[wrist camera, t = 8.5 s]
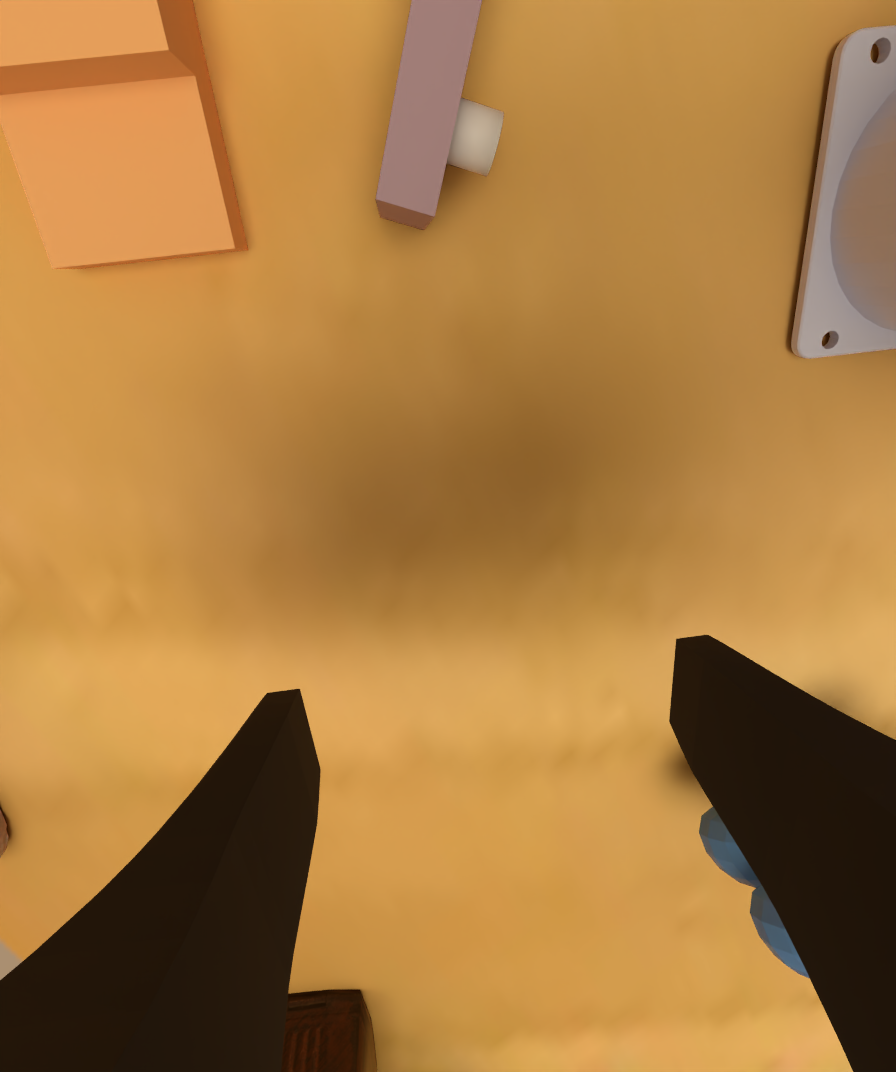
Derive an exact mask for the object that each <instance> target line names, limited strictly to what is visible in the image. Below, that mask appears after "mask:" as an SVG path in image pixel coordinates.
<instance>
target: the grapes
mask: <svg viewBox="0 0 896 1072" xmlns="http://www.w3.org/2000/svg"><path fill="white" fill-rule="evenodd" d="M699 834H700V836H701V839H702V842H703V844H704V847H705V849H706V852H707V853H708V855H709V856H710V857H711V858H712V859H713V861H714V862H715V863H716V864H717V866H718V867H719V868H720V869H721V870H723V871H724V872H725V873H727V874H728V875H730V876H731V877H732V878H734V879H735V880H737V881H738V882H740V883H743V884H746V885H749V886H752V887H755V888H756V889H755V890H754V891H753V892H752V899H751V908H750V914H751V916H752V919H753V921H754V924H755V927H756V929H757V932H758V934H759V936H760V938H761V939H762V940H763V941H764V943H765V944H766V945H767V946H768V948H769V949H770V950H771V951H772V953H773V954H774V955H775V956H776V957H777V958H778V959H780V960H781V961H782V962H783V963H784V964H786V965H787V966H788V967H790V968H791V969H793V970H794V971H795V972H797V973H798V974H800V975H803V976H805V977H808V978H810V977H809V975H808V973H807V971H806V969H805V967H804V965H803V963H802V961H801V959H800V957H799V955H798V953H797V951H796V949H795V947H794V945H793V943H792V941H791V939H790V937H789V935H788V933H787V931H786V929H785V927H784V925H783V923H782V921H781V919H780V917H779V915H778V913H777V911H776V909H775V908H774V906H773V904H772V902H771V901H770V899H769V897H768V895H767V894H766V892H765V890H764V888H763V886H762V885H761V883H760V881H759V880H758V878H757V876H756V875H755V873H754V872H753V870H752V868H751V867H750V865H749V864H748V862H747V860H746V859H745V857H744V855H743V854H742V852H741V851H740V849H739V847H738V846H737V844H736V842H735V841H734V839H733V838H732V836H731V834H730V833H729V831H728V830H727V828H726V826H725V825H724V823H723V821H722V820H721V818H720V817H719V815H718V813H717V812H716V810H715V808H714V807H712V808H711V809H709V810H708V811H707V812H706V813H704V814H703V815H702V817H701V823H700V829H699Z"/></svg>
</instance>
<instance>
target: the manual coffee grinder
mask: <svg viewBox="0 0 896 1072" xmlns="http://www.w3.org/2000/svg"><path fill="white" fill-rule="evenodd" d="M281 1072H377V1064H376V1055H375V1047H374V1039H373V1031H372V1024H371V1018H370V1015H369V1013H368V1010H367V1008H366V1005H365V1003H364V1000H363V998H362V995H361V992H360V990H322V991H312V992H302V993H293V994H288V1000H287V1011H286V1022H285V1032H284V1043H283V1053H282V1066H281Z"/></svg>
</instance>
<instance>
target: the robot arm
mask: <svg viewBox="0 0 896 1072" xmlns="http://www.w3.org/2000/svg"><path fill="white" fill-rule="evenodd" d="M873 44H876V45H877V47H878V48H879V56H878V59H877V62H876V63H873V61H872V60H871V57H870V51H871V48H872V46H873ZM827 332H829V333H830V339H829V341H828V343H827V344H826V345H825V346H822V339H823V336H824V335H825V334H826V333H827ZM791 349H792V351H793V353H794V354H795V355H797V356H798V357H802V358H810V359H811V358H820V357H828V356H837V355H846V354H855V353H863V352H872V351H881V350H889V349H896V25H892V26H882V27H871V28H863V29H860V30H857V31H855V32H853V33H851V34H849V35H847V36H846V37H845V38H844V39H843V40H842V41H841V42H840V43H839V45H838V47H837V48H836V50H835V53H834V57H833V61H832V68H831V75H830V82H829V88H828V95H827V102H826V109H825V116H824V122H823V129H822V136H821V143H820V150H819V156H818V163H817V170H816V177H815V184H814V190H813V197H812V204H811V211H810V218H809V224H808V231H807V238H806V245H805V252H804V258H803V265H802V272H801V279H800V285H799V292H798V299H797V306H796V313H795V319H794V326H793V333H792V340H791ZM669 722H670V724H671V726H672V729H673V731H674V733H675V735H676V738H677V740H678V742H679V745H680V747H681V749H682V751H683V753H684V755H685V758H686V760H687V762H688V764H689V766H690V768H691V770H692V772H693V774H694V775H695V777H696V779H697V780H698V782H699V784H700V785H701V787H702V789H703V790H704V792H705V794H706V795H707V797H708V799H709V800H710V802H711V804H712V805H713V807H714V808H715V810H716V812H717V813H718V815H719V817H720V818H721V820H722V821H723V823H724V825H725V826H726V828H727V830H728V831H729V833H730V834H731V836H732V838H733V839H734V841H735V842H736V844H737V846H738V847H739V849H740V851H741V852H742V854H743V855H744V857H745V859H746V860H747V862H748V864H749V865H750V867H751V868H752V870H753V872H754V873H755V875H756V876H757V878H758V880H759V881H760V883H761V885H762V886H763V888H764V890H765V892H766V894H767V895H768V897H769V899H770V901H771V902H772V904H773V906H774V908H775V909H776V911H777V913H778V915H779V917H780V919H781V921H782V923H783V925H784V927H785V929H786V931H787V933H788V935H789V937H790V939H791V941H792V943H793V945H794V947H795V949H796V951H797V953H798V955H799V957H800V959H801V961H802V963H803V965H804V967H805V969H806V971H807V973H808V975H809V977H810V980H811V982H812V984H813V986H814V988H815V990H816V992H817V994H818V996H819V999H820V1001H821V1003H822V1005H823V1007H824V1009H825V1011H826V1013H827V1015H828V1018H829V1020H830V1022H831V1024H832V1026H833V1028H834V1030H835V1032H836V1034H837V1037H838V1039H839V1041H840V1043H841V1045H842V1047H843V1050H844V1052H845V1054H846V1056H847V1059H848V1061H849V1063H850V1065H851V1068H852V1070H853V1072H896V740H894V739H892V738H890V737H888V736H886V735H884V734H882V733H880V732H878V731H876V730H874V729H873V728H871V727H869V726H867V725H865V724H863V723H861V722H859V721H857V720H855V719H853V718H851V717H850V716H848V715H846V714H844V713H842V712H840V711H838V710H836V709H835V708H833V707H831V706H829V705H827V704H826V703H824V702H822V701H820V700H818V699H817V698H815V697H813V696H811V695H810V694H808V693H806V692H804V691H803V690H801V689H799V688H798V687H796V686H794V685H792V684H791V683H789V682H787V681H786V680H784V679H782V678H780V677H779V676H777V675H775V674H774V673H772V672H770V671H769V670H767V669H765V668H764V667H762V666H760V665H759V664H757V663H755V662H754V661H752V660H750V659H749V658H747V657H745V656H744V655H742V654H740V653H739V652H737V651H735V650H734V649H732V648H730V647H729V646H727V645H725V644H723V643H722V642H720V641H718V640H716V639H714V638H713V637H711V636H709V635H702V636H695V637H687V638H679V639H676V649H675V661H674V672H673V684H672V696H671V708H670V720H669ZM319 786H320V766H319V762H318V758H317V754H316V750H315V746H314V742H313V738H312V735H311V731H310V727H309V723H308V719H307V715H306V711H305V707H304V703H303V700H302V696H301V692H300V689H294V690H287V691H279V692H271V693H267V694H266V695H265V696H264V698H263V699H262V700H261V701H260V703H259V704H258V705H257V707H256V708H255V709H254V711H253V712H252V713H251V715H250V716H249V718H248V719H247V720H246V722H245V723H244V724H243V726H242V727H241V728H240V730H239V731H238V733H237V734H236V735H235V737H234V738H233V739H232V741H231V742H230V743H229V745H228V746H227V747H226V749H225V750H224V751H223V753H222V754H221V755H220V756H219V758H218V759H217V760H216V762H215V763H214V764H213V765H212V767H211V768H210V769H209V771H208V772H207V773H206V774H205V776H204V777H203V778H202V780H201V781H200V782H199V783H198V785H197V786H196V787H195V788H194V790H193V791H192V792H191V793H190V794H189V796H188V797H187V798H186V799H185V800H184V802H183V803H182V804H181V805H180V806H179V807H178V809H177V810H176V811H175V812H174V813H173V814H172V816H171V817H170V818H169V819H168V820H167V821H166V823H165V824H164V825H163V826H162V827H161V829H160V830H159V831H158V832H157V833H156V834H155V835H154V836H153V837H152V839H151V840H150V841H149V842H148V843H147V844H146V845H145V846H144V847H143V848H142V850H141V851H140V852H139V853H138V854H137V855H136V856H135V857H134V858H133V859H132V860H131V861H130V862H129V863H128V864H127V865H126V866H125V867H124V868H123V869H122V870H121V871H120V872H119V873H118V874H117V875H116V876H115V877H114V878H113V879H112V880H111V881H110V882H109V883H108V884H107V885H106V886H105V887H104V888H103V889H102V890H101V891H100V892H99V893H98V894H97V895H96V896H95V897H94V898H93V899H92V900H91V901H89V902H88V903H87V904H86V905H85V906H84V907H83V908H82V909H81V910H80V911H78V912H77V913H76V914H75V915H74V916H73V917H72V918H71V919H70V920H69V921H68V922H66V923H65V924H64V925H63V926H62V927H61V928H60V929H59V930H58V931H57V932H55V933H54V934H53V935H52V936H51V937H50V938H49V939H48V940H47V941H46V942H44V943H43V944H42V945H41V946H40V947H39V948H38V949H37V950H36V951H34V952H33V953H32V954H31V955H30V956H29V957H28V958H26V959H25V960H24V961H23V962H22V963H20V964H19V965H18V966H17V967H16V968H15V969H13V970H12V971H11V972H10V973H9V974H7V975H6V976H5V977H4V978H3V979H2V980H0V1072H281V1066H282V1053H283V1043H284V1032H285V1022H286V1011H287V1000H288V990H289V981H290V974H291V967H292V960H293V953H294V948H295V942H296V937H297V932H298V926H299V921H300V915H301V910H302V904H303V899H304V893H305V888H306V883H307V877H308V872H309V866H310V861H311V855H312V849H313V844H314V838H315V832H316V826H317V817H318V803H319Z"/></svg>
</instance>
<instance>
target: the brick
mask: <svg viewBox="0 0 896 1072" xmlns="http://www.w3.org/2000/svg"><path fill="white" fill-rule="evenodd" d="M6 827H7V824H6V822H5V819H4V817H3V815H2V812H1V810H0V857H1V856H2V854H3V853H4V851H5V849H6V847H7V842H8V838H9V836H8V833H7V830H6Z"/></svg>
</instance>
